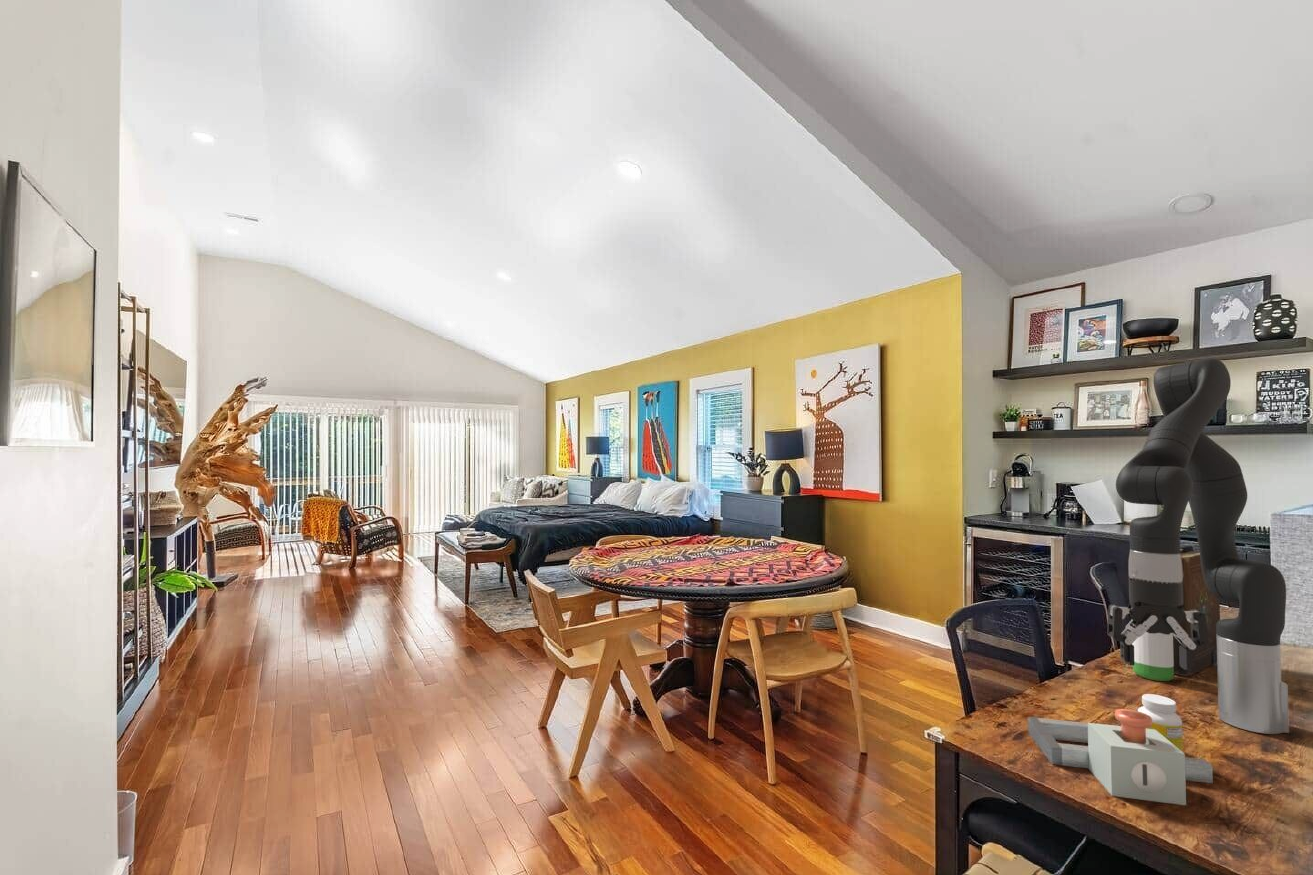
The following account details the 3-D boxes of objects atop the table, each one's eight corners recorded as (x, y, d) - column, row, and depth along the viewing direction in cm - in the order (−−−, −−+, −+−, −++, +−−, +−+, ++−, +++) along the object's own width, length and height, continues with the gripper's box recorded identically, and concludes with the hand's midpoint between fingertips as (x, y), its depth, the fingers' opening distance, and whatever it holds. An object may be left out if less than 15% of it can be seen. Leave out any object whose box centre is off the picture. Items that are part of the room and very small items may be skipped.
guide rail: (1170, 747, 111) (1169, 731, 111) (1212, 783, 99) (1212, 765, 99) (1028, 732, 117) (1027, 716, 117) (1052, 764, 105) (1051, 746, 105)
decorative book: (1188, 653, 162) (1185, 543, 162) (1223, 661, 155) (1220, 547, 156) (1153, 670, 149) (1150, 551, 150) (1190, 679, 143) (1187, 555, 144)
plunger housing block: (1156, 776, 101) (1155, 729, 101) (1188, 807, 92) (1186, 755, 92) (1088, 768, 103) (1087, 722, 103) (1113, 797, 95) (1112, 747, 95)
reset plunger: (1142, 734, 100) (1142, 710, 100) (1158, 748, 95) (1158, 723, 95) (1109, 730, 101) (1109, 707, 101) (1123, 744, 96) (1123, 719, 96)
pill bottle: (1128, 753, 109) (1127, 692, 109) (1159, 751, 109) (1158, 691, 109) (1160, 771, 102) (1158, 707, 103) (1193, 769, 103) (1191, 705, 103)
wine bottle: (1162, 684, 140) (1159, 558, 141) (1125, 673, 147) (1123, 553, 148) (1181, 679, 143) (1178, 555, 144) (1144, 668, 150) (1141, 550, 151)
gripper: (1189, 574, 108) (1191, 663, 108) (1099, 570, 112) (1101, 655, 112) (1216, 583, 101) (1218, 678, 101) (1119, 578, 105) (1120, 669, 105)
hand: (1156, 666), depth 106 cm, fingers open, 8 cm apart
